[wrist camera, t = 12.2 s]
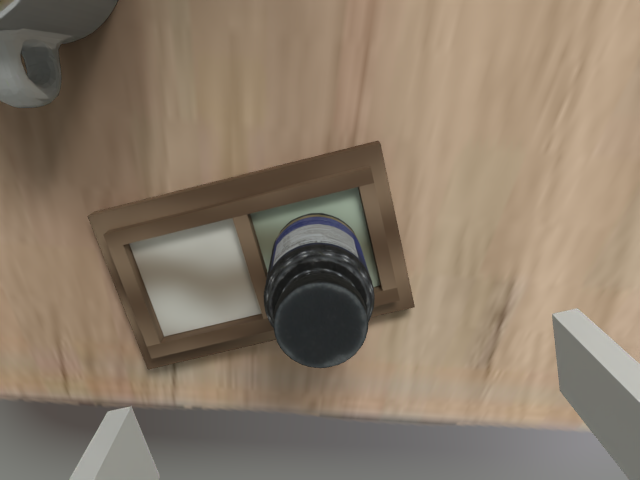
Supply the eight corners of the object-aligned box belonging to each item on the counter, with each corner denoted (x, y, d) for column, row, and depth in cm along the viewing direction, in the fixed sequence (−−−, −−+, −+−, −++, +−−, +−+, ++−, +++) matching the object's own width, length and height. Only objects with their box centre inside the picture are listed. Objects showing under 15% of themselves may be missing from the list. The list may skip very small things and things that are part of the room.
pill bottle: (344, 304, 38) (359, 395, 27) (261, 281, 37) (243, 365, 26) (373, 224, 36) (400, 288, 25) (286, 198, 35) (277, 253, 25)
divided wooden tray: (94, 211, 36) (81, 220, 34) (377, 140, 35) (382, 145, 33) (152, 360, 40) (144, 377, 38) (411, 300, 39) (417, 313, 37)
